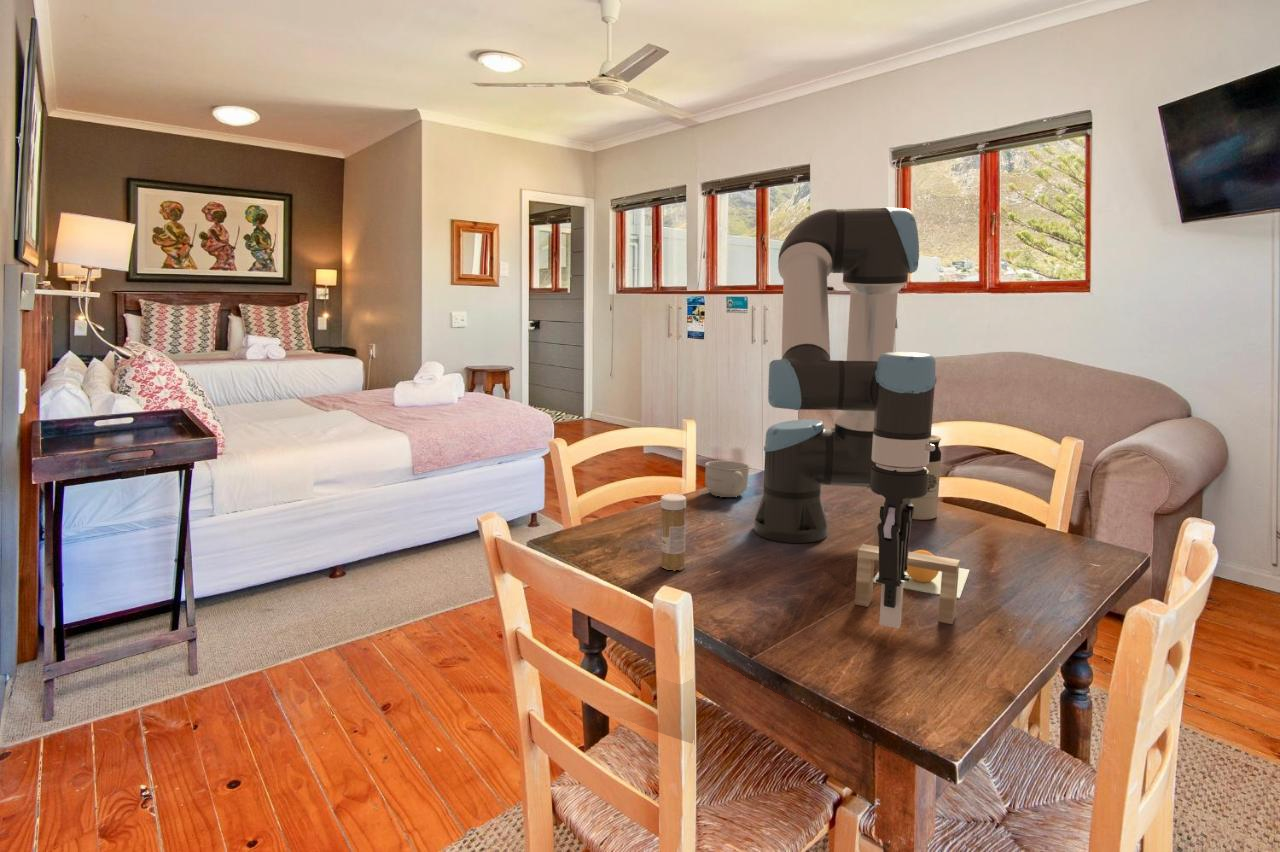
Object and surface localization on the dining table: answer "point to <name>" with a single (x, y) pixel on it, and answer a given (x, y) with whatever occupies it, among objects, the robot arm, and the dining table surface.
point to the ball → (921, 571)
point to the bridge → (916, 560)
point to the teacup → (726, 478)
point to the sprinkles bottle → (673, 531)
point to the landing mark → (933, 583)
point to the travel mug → (930, 486)
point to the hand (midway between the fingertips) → (890, 624)
